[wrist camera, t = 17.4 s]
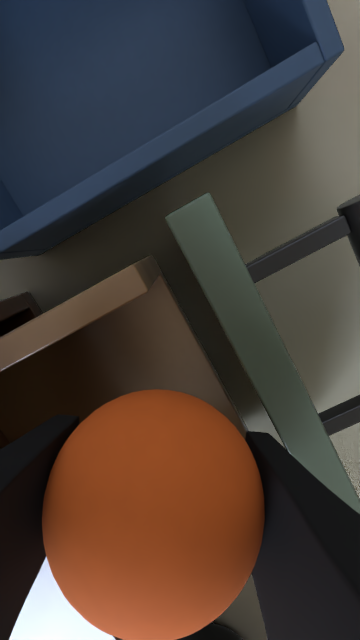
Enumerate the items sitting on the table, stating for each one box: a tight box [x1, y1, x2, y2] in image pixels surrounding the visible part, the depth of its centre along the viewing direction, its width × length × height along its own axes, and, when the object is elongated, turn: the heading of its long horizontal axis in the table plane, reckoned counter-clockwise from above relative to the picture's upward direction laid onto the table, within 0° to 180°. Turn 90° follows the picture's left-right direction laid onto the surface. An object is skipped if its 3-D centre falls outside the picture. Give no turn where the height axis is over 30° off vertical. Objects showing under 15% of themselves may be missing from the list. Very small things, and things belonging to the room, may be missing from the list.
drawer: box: [0, 193, 360, 514], centre depth 12 cm, size 17×11×6 cm, turn 118°
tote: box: [0, 0, 344, 260], centre depth 11 cm, size 12×9×4 cm
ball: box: [42, 389, 265, 640], centre depth 8 cm, size 5×5×5 cm
